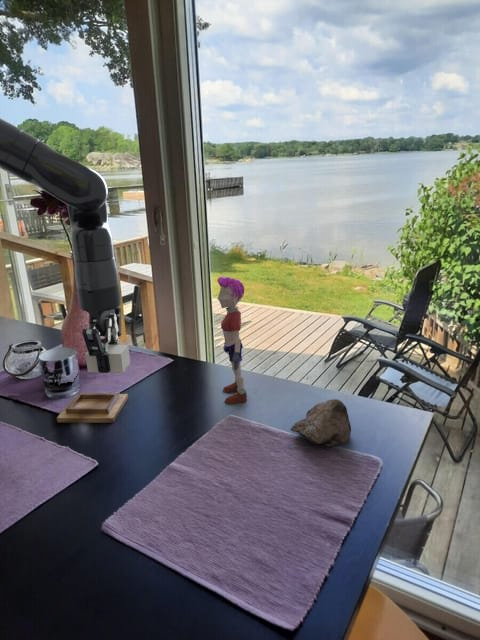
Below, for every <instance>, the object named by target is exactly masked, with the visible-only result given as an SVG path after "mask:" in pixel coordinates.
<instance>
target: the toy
mask: <svg viewBox="0 0 480 640" xmlns="http://www.w3.org/2000/svg"><path fill="white" fill-rule="evenodd" d="M217 283H218V285H219V286H220V289H219V292H218V296H217V301H219V304H220V307H221V309H225V310H226V314H225V316H224V317H223V319H222V320H221V322H220V328H221V330H222V334H223V338H224V343H223V348H222V350H223V351H224V353H226V354H227V356H229V357H228V358H229V362H230V364H231V370H232V371H233V373H234V382H233V383H231V384H228V385H226V386H224V387H223V389H222V391H223V392H224V393H226V394H229V393H233V392H234V394H232V395H229V396H227V397H226V398H225V400H224V402H225V404H227V405H228V404H229V405H235V404H240V403H246V402H247V401H248V399H247V398H248V395H247V390H246V387H245V383H244V381H245V380H244V376H243V375H242V368H241V362H242V361H243V355H242V351H243V348H244V345H243V343H242V339H241V338H240V331H241V328H242V313H241V311H240V310H239V308H240V307H239V306H237V305H238V304H239V303H240V302H241V300H242V298H243V297H244V295H245V286H244V284H243V282H242V281H241V280H240V279H237V278H234V277H233V278H232V277H230V276H219V277H218V278H217ZM235 392H236V393H235Z"/></svg>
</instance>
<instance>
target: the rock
mask: <svg viewBox="0 0 480 640" xmlns="http://www.w3.org/2000/svg"><path fill="white" fill-rule="evenodd" d="M290 431H292V432H295V433H296V434H297V433H298V434H299V435H301V436H303V437H305V438H306V440H308V441H309V442H311V443H314V444H317V445H321V444H322V445H323V446H325V447H327V448H331V447H333V446H338V445H347V444H348V443H349V441H350V437H351V433H352V426H351V422H350V418H349V413H348V409H347V406H346V405H345V403H344V402H342V401H341V400H340V399H328V400H326V401H325V402H318V403H316V404H315V405H314V406H312V407H311V408H310V409H308V410H307V412H306V414H305V418H302V419H300V420H298V421H296V422H295V423H294V425H292V426H291V427H290Z"/></svg>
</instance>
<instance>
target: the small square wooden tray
mask: <svg viewBox="0 0 480 640" xmlns="http://www.w3.org/2000/svg"><path fill="white" fill-rule="evenodd" d="M128 399H129V395H128V393H119V392H78V393H76V394H75V395H74V396H73V397H72V398H71V400H70V401H69V402H68V403H67V404H66V406H65V407H64V408H63V409H62V411H60V413H59V414H58V416H57V417H56V422H57V423H90V424H91V423H92V424H93V423H97V424H99V423H100V424H101V423H102V424H103V423H104V424H105V423H107V424H108V423H109V424H110V423H111V424H114V422H115V421H116V419H117V417H118V416H119V414H120V412H121V411H122V409H123V408H124V406H125V404H126V402H127V401H128Z"/></svg>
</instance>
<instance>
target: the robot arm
mask: <svg viewBox="0 0 480 640" xmlns="http://www.w3.org/2000/svg"><path fill="white" fill-rule="evenodd" d="M0 170H2V171H5V172H7V173H8V174H11V175H12V176H14V177H16V178H18V179H20V180H21V181H23V182H26V183H29V184H31V185H33V186H36V187H38V188H39V189H41V190H43V191H44V192H45V193H47V194H49V195H51V196H52V197H54V198H56V199H57V200H59V201H61V202H62V203H64V204H66V208H67V212H68V217H69V223H70V228H71V229H70V240H71V248H72V255H73V261H74V277H75V284H76V291H77V298H78V305H79V308H80V310H82V311H84V312H86V313H88V328H82V331H81V332H82V333H81V334H82V337H83V340H84V343H85V346H86V349H87V351H88V353H89V356H96V360H97V366H98V372H97V373H99V374H108V373H109V371H110V363H109V355H108V345H119V342H120V339H119V337H120V338H121V337H122V308H121V307H120V306H121V305H122V297H121V296H122V295H121V288H120V287H121V286H120V280H119V279H120V278H119V271H118V265H117V262H116V257H115V250H114V249H115V248H114V242H113V241H114V240H113V235H112V232H111V228H110V225H109V218H108V217H109V215H108V205H107V198H108V194H109V193H108V192H109V191H108V185H107V183H106V181H105V179H104V178H103V176H102V175H101V174H100V173H98V172H96V170H93V169H92V168H90V167H88V166H86V165H84V164H82V163H81V162H78V161H76V160H74V159H72V158H71V157H69V156H66V155H65V154H62V153H60V152H58V151H56V150H55V149H54V148H52V147H51V146H49V145H48V144H47V143H45V142H43V141H42V140H40V139H39V138H38V137H36V136H34V135H31V134H30V133H28V132H26V131H25V130H23V129H21V128H20V127H17V126H16V125H14V124H12V123H10V122H8V121H6V120H4V119H2V118H0ZM109 374H110V373H109Z"/></svg>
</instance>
